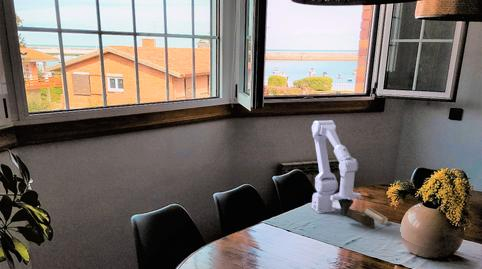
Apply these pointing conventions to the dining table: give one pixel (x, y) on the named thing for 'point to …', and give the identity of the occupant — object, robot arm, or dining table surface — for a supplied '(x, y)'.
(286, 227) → the dining table surface
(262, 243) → the dining table surface
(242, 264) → the dining table surface
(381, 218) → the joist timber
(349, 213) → the hand tool
